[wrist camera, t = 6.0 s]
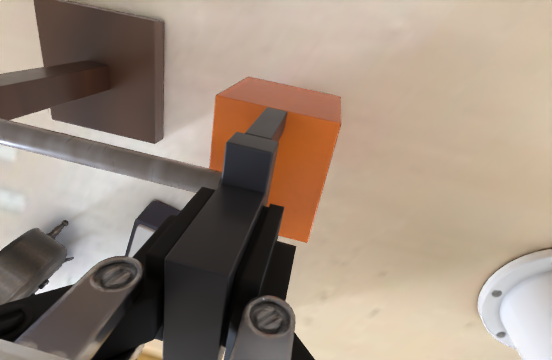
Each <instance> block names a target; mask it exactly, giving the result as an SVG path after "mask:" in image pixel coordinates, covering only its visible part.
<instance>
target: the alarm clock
mask: <svg viewBox="0 0 552 360" xmlns="http://www.w3.org/2000/svg"><path fill="white" fill-rule="evenodd" d="M67 225H68V221H66V220H64V221H63V222H62V224H60V225H59V226H57V227H56V228H55V229H54V230H52V231H51V232H50V233H49V234H45V233H44V232H42V231H41V230H40V229H38V228H36V229H32V230H30V231H28V232H26V233H24V234H23V235H21V236H20V237H18V238H17V239H16V240H14V241H13V242H11V243H10V244H9V245H7V246H6V247H4V248H3V249H2V250H1V251H0V305H2V304H5V303H8V302H12V301H15V300H19V299H23V298H26V297H30V296H33V295H35V294H34V293H35V292H36V291H37V290H38V289H39V288H40V289H42V288H43V287H44V286H45V285H46V284H48V282H49V280H48V279H49V278H50V277H51V276H52V275H53V273H54V272H55V271H56V270H58V269H59V268H60V267H61V266H62V264H63V263H64V262H66V261H70V260H72V259H73V258H74V257H71V258H67V259H66V256H67V251H66V249H65V247H64V246H62V245H61V244H59V243H58V242H57V241H55V237H56V236H57V235H58V234H59V233H60V232H61V230H62V229H63V227H64V226H67Z"/></svg>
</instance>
